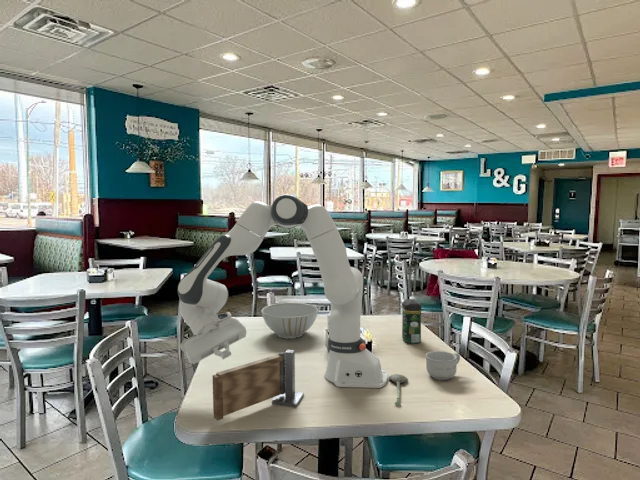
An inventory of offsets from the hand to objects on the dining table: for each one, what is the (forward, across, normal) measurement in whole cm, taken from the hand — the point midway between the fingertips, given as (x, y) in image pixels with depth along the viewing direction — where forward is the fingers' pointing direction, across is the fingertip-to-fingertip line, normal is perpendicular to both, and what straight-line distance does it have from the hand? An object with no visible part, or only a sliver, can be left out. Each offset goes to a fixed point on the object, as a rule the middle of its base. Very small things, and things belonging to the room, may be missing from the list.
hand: (227, 356), depth 131 cm
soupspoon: (+36, +43, +14) cm, 58 cm away
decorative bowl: (-27, +43, +44) cm, 68 cm away
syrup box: (-4, +51, +36) cm, 62 cm away
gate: (+16, -1, +6) cm, 17 cm away
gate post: (+18, +11, +11) cm, 24 cm away
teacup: (+41, +64, +18) cm, 78 cm away
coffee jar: (+13, +82, +38) cm, 91 cm away
